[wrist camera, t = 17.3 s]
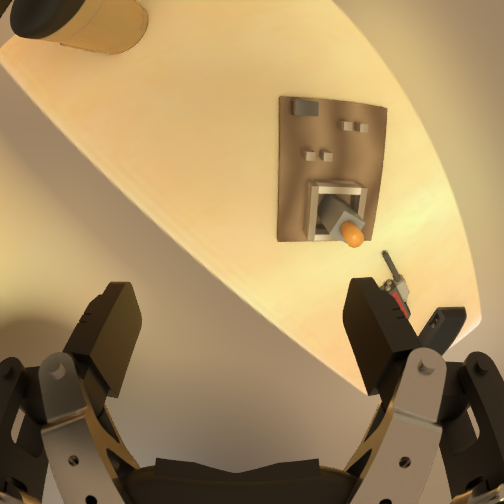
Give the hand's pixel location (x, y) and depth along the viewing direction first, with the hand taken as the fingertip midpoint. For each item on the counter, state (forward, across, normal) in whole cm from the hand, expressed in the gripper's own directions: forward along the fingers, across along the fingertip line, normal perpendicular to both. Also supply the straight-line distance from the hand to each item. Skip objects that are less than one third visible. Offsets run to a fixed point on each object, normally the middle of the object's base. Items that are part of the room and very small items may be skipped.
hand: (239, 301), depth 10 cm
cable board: (+32, -13, +3) cm, 35 cm away
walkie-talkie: (+32, -28, +27) cm, 51 cm away
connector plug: (+31, -13, +8) cm, 34 cm away
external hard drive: (+32, -50, +43) cm, 74 cm away
